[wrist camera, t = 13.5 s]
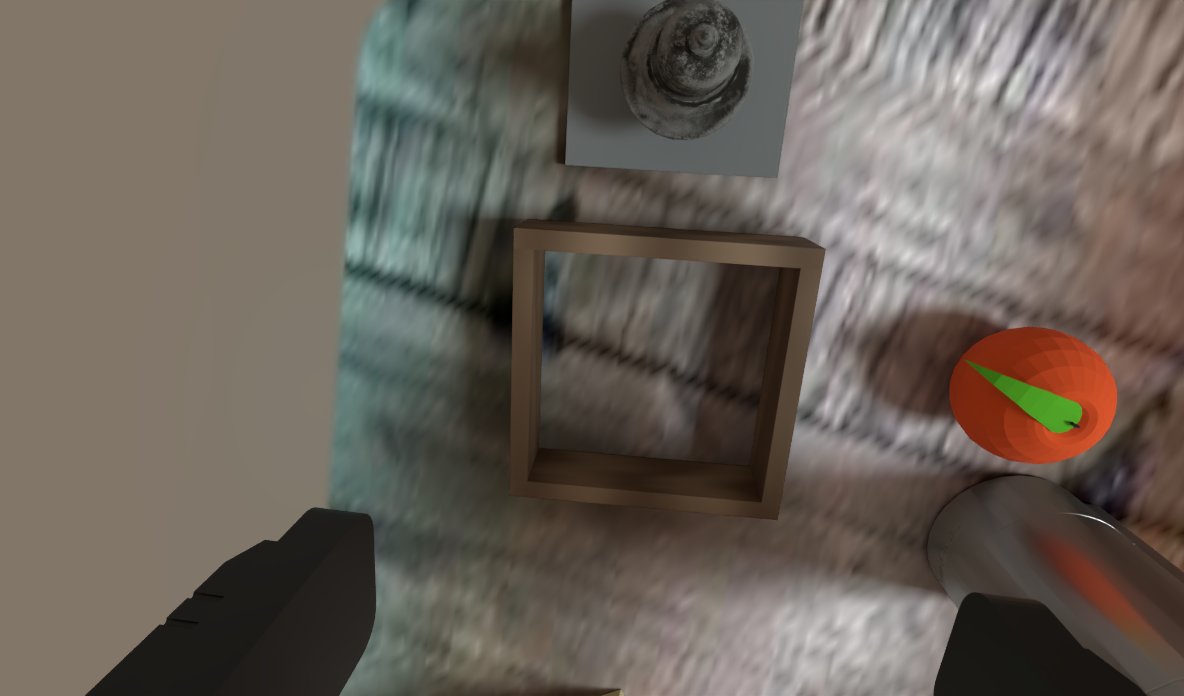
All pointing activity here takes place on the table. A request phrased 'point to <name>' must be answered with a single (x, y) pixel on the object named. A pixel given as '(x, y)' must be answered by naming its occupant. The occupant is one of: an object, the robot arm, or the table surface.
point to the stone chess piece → (686, 68)
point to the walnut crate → (651, 477)
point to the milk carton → (615, 693)
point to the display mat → (619, 140)
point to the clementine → (1033, 395)
